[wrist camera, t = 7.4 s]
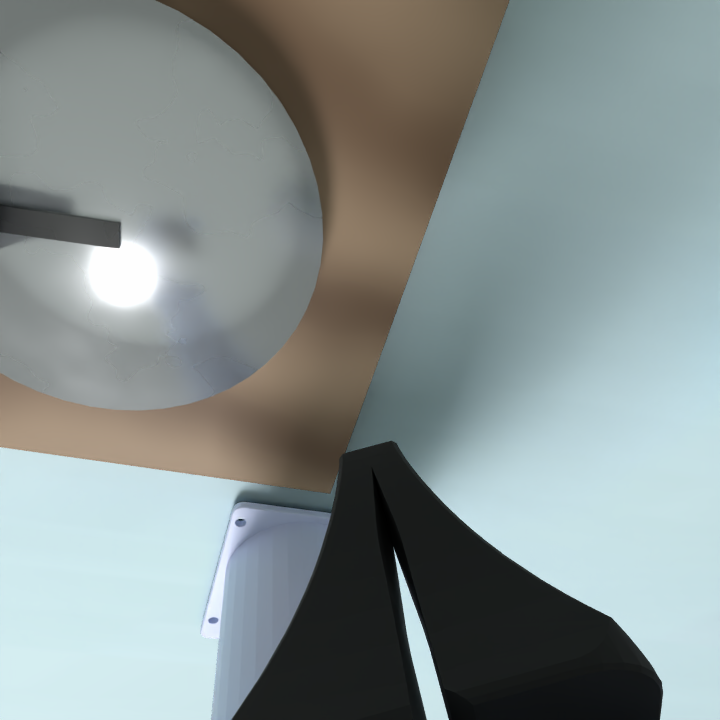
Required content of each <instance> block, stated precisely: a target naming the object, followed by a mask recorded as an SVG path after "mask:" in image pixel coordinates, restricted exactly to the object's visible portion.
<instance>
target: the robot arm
mask: <svg viewBox="0 0 720 720" xmlns="http://www.w3.org/2000/svg"><path fill="white" fill-rule="evenodd" d="M238 519H244V520H243V521H239V520H238ZM393 547H394V548H393ZM394 550H395V552H396V555H397V558H398V561H399V563H400V566H401V569H402V572H403V574H404V577H405V580H406V583H407V585H408V588H409V591H410V594H411V596H412V599H413V602H414V605H415V607H416V610H417V613H418V616H419V618H420V621H421V624H422V627H423V629H424V632H425V635H426V639H427V642H428V645H429V648H430V651H431V655H432V659H433V663H434V666H435V670H436V674H437V677H438V681H439V685H440V688H441V692H442V696H443V699H444V703H445V707H446V711H447V714H448V718H449V720H660V714H661V706H662V697H663V689H662V682H661V680H660V679H659V677H658V676H657V674H656V672H655V670H654V668H653V667H652V665H651V664H650V662H649V661H648V660H647V658H646V657H645V656H644V655H643V653H642V652H641V651H640V650H639V648H638V647H637V646H636V645H635V643H634V642H633V641H632V640H631V639H630V637H629V636H628V635H627V634H626V633H625V632H624V631H623V630H622V628H621V627H620V626H619V625H618V624H617V623H616V622H615V621H614V620H613V619H612V618H611V617H609V616H607V615H605V614H603V613H601V612H599V611H597V610H595V609H593V608H591V607H589V606H587V605H585V604H583V603H582V602H580V601H578V600H576V599H574V598H572V597H570V596H569V595H567V594H565V593H563V592H562V591H560V590H558V589H556V588H555V587H553V586H551V585H550V584H548V583H546V582H545V581H543V580H541V579H540V578H538V577H537V576H535V575H534V574H532V573H531V572H529V571H528V570H526V569H525V568H523V567H522V566H520V565H519V564H517V563H515V562H514V561H512V560H511V559H509V558H508V557H507V556H505V555H504V554H502V553H501V552H500V551H498V550H497V549H496V548H494V547H493V546H492V545H491V544H489V543H488V542H487V541H485V540H484V539H483V538H482V537H480V536H479V535H478V534H477V533H476V532H474V531H473V530H472V529H471V528H470V527H469V526H467V525H466V524H465V523H464V522H463V521H462V520H461V519H460V518H458V517H457V516H456V515H455V514H454V513H453V512H452V511H451V510H450V509H449V508H448V507H447V506H446V505H445V504H444V503H443V502H442V501H441V500H440V499H439V498H438V497H437V496H436V495H435V494H434V492H433V491H432V490H431V489H430V488H429V487H428V486H427V485H426V484H425V482H424V481H423V480H422V479H421V478H420V477H419V475H418V474H417V473H416V472H415V470H414V469H413V468H412V467H411V465H410V464H409V463H408V461H407V460H406V458H405V457H404V455H403V454H402V452H401V451H400V449H399V447H398V445H397V443H395V442H393V441H389V442H385V443H381V444H378V445H374V446H370V447H366V448H363V449H359V450H355V451H351V452H348V453H344V454H342V455H341V457H340V458H339V474H338V481H337V488H336V493H335V499H334V503H333V507H332V512H331V513H326V512H318V511H311V510H303V509H296V508H288V507H280V506H273V505H265V504H258V503H250V502H240V503H237V504H236V505H234V507H233V509H232V513H231V516H230V520H229V524H228V528H227V531H226V535H225V539H224V542H223V546H222V550H221V554H220V557H219V561H218V565H217V569H216V572H215V576H214V580H213V584H212V587H211V591H210V595H209V599H208V602H207V606H206V610H205V613H204V617H203V621H202V625H201V631H200V633H201V635H202V636H203V637H205V638H213V639H219V642H218V653H217V663H216V674H215V684H214V695H213V705H212V716H211V720H427V719H426V715H425V711H424V707H423V703H422V699H421V694H420V690H419V686H418V682H417V678H416V674H415V670H414V666H413V662H412V657H411V653H410V648H409V643H408V638H407V632H406V626H405V619H404V613H403V606H402V600H401V593H400V587H399V580H398V574H397V567H396V561H395V554H394Z"/></svg>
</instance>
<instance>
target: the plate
mask: <svg viewBox="0 0 720 720" xmlns="http://www.w3.org/2000/svg"><path fill="white" fill-rule="evenodd" d="M156 1H158V2H160V3H162V4H164V5H166V6H169V7H171V8H173V9H175V10H177V11H179V12H181V13H182V14H184V15H186V16H187V17H189V18H191V19H192V20H194V21H195V22H197V23H199V24H200V25H202V26H203V27H205V28H207V29H208V30H210V31H211V32H213V33H214V34H215V35H217V36H218V37H219V38H220V39H222V40H223V41H224V42H225V43H226V44H228V45H229V46H230V47H231V48H233V49H234V50H235V51H236V52H238V53H239V54H240V55H241V56H242V57H243V58H244V59H245V60H246V61H247V62H248V63H249V64H250V65H251V66H252V67H253V68H254V69H255V70H256V71H257V73H258V74H259V75H260V76H261V77H262V78H263V79H264V80H265V82H266V83H267V84H268V86H269V87H270V88H271V90H272V91H273V92H274V94H275V95H276V96H277V97H278V99H279V100H280V101H281V103H282V105H283V106H284V108H285V110H286V111H287V113H288V115H289V117H290V118H291V120H292V122H293V123H294V125H295V127H296V129H297V131H298V133H299V136H300V138H301V140H302V143H303V145H304V147H305V149H306V152H307V154H308V156H309V159H310V162H311V165H312V169H313V172H314V175H315V179H316V182H317V185H318V191H319V197H320V203H321V209H322V223H323V245H322V255H321V265H320V269H319V273H318V277H317V282H316V286H315V289H314V292H313V294H312V297H311V299H310V302H309V305H308V307H307V310H306V312H305V313H304V315H303V317H302V319H301V321H300V322H299V324H298V326H297V328H296V330H295V331H294V332H293V334H292V335H291V336H290V338H289V339H288V340H287V342H286V343H285V344H284V346H283V347H282V348H281V349H280V350H279V351H278V352H277V353H276V354H275V355H274V356H273V357H272V358H271V359H270V360H269V361H268V362H267V363H266V364H265V365H264V366H262V367H261V368H260V369H259V370H257V371H256V372H255V373H254V374H252V375H251V376H250V377H248V378H247V379H245V380H243V381H242V382H240V383H238V384H236V385H235V386H233V387H231V388H230V389H227V390H225V391H223V392H221V393H218V394H216V395H214V396H212V397H209V398H206V399H203V400H200V401H196V402H193V403H190V404H186V405H181V406H175V407H170V408H165V409H153V410H113V409H106V408H98V407H90V406H86V405H82V404H77V403H73V402H69V401H64V400H62V399H59V398H56V397H53V396H50V395H47V394H44V393H41V392H38V391H36V390H34V389H32V388H29V387H27V386H25V385H23V384H20V383H18V382H16V381H14V380H12V379H10V378H9V377H7V376H5V375H3V374H2V373H0V447H4V448H11V449H18V450H25V451H32V452H39V453H46V454H53V455H60V456H67V457H74V458H82V459H89V460H96V461H103V462H110V463H117V464H124V465H131V466H138V467H145V468H152V469H159V470H166V471H173V472H181V473H188V474H195V475H202V476H209V477H216V478H223V479H230V480H237V481H244V482H251V483H258V484H265V485H272V486H279V487H287V488H294V489H301V490H308V491H315V492H322V493H329V494H330V493H331V490H332V487H333V485H334V482H335V479H336V476H337V474H338V471H339V458H340V457H341V455H342V454H344V453H345V451H346V449H347V446H348V443H349V440H350V438H351V435H352V432H353V429H354V427H355V424H356V421H357V418H358V416H359V413H360V410H361V407H362V405H363V402H364V399H365V396H366V394H367V391H368V388H369V385H370V383H371V380H372V377H373V374H374V372H375V369H376V366H377V363H378V361H379V358H380V355H381V352H382V350H383V347H384V344H385V341H386V339H387V336H388V333H389V330H390V328H391V325H392V322H393V319H394V317H395V314H396V311H397V308H398V306H399V303H400V300H401V297H402V295H403V292H404V289H405V286H406V284H407V281H408V278H409V275H410V273H411V270H412V267H413V264H414V262H415V259H416V256H417V253H418V251H419V248H420V245H421V242H422V240H423V237H424V234H425V231H426V229H427V226H428V223H429V220H430V218H431V215H432V212H433V209H434V207H435V204H436V201H437V198H438V196H439V193H440V190H441V187H442V185H443V182H444V179H445V176H446V174H447V171H448V168H449V165H450V163H451V160H452V157H453V154H454V152H455V149H456V146H457V143H458V141H459V138H460V135H461V132H462V130H463V127H464V124H465V121H466V119H467V116H468V113H469V110H470V108H471V105H472V102H473V99H474V97H475V94H476V91H477V88H478V85H479V83H480V80H481V77H482V74H483V72H484V69H485V66H486V63H487V61H488V58H489V55H490V52H491V50H492V47H493V44H494V41H495V39H496V36H497V33H498V30H499V28H500V25H501V22H502V19H503V17H504V14H505V11H506V8H507V6H508V3H509V0H156Z"/></svg>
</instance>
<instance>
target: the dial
mask: <svg viewBox="0 0 720 720" xmlns="http://www.w3.org/2000/svg"><path fill="white" fill-rule="evenodd" d="M322 245H323V223H322V209H321V203H320V197H319V191H318V185H317V182H316V179H315V175H314V172H313V169H312V165H311V162H310V159H309V156H308V154H307V152H306V149H305V147H304V145H303V143H302V140H301V138H300V136H299V133H298V131H297V129H296V127H295V125H294V123H293V122H292V120H291V118H290V117H289V115H288V113H287V111H286V110H285V108H284V106H283V105H282V103H281V101H280V100H279V99H278V97H277V96H276V95H275V94H274V92H273V91H272V90H271V88H270V87H269V86H268V84H267V83H266V82H265V80H264V79H263V78H262V77H261V76H260V75H259V74H258V73H257V71H256V70H255V69H254V68H253V67H252V66H251V65H250V64H249V63H248V62H247V61H246V60H245V59H244V58H243V57H242V56H241V55H240V54H239V53H238V52H236V51H235V50H234V49H233V48H231V47H230V46H229V45H228V44H226V43H225V42H224V41H223V40H222V39H220V38H219V37H218V36H217V35H215V34H214V33H213V32H211V31H210V30H208V29H207V28H205V27H203V26H202V25H200V24H199V23H197V22H195V21H194V20H192V19H191V18H189V17H187V16H186V15H184V14H182V13H181V12H179V11H177V10H175V9H173V8H171V7H169V6H166V5H164V4H162V3H160V2H158V1H156V0H0V373H2V374H3V375H5V376H7V377H9V378H10V379H12V380H14V381H16V382H18V383H20V384H23V385H25V386H27V387H29V388H32V389H34V390H36V391H38V392H41V393H44V394H47V395H50V396H53V397H56V398H59V399H62V400H64V401H69V402H73V403H77V404H82V405H86V406H90V407H98V408H106V409H113V410H153V409H165V408H170V407H175V406H181V405H186V404H190V403H193V402H196V401H200V400H203V399H206V398H209V397H212V396H214V395H216V394H218V393H221V392H223V391H225V390H227V389H230V388H231V387H233V386H235V385H236V384H238V383H240V382H242V381H243V380H245V379H247V378H248V377H250V376H251V375H252V374H254V373H255V372H256V371H257V370H259V369H260V368H261V367H262V366H264V365H265V364H266V363H267V362H268V361H269V360H270V359H271V358H272V357H273V356H274V355H275V354H276V353H277V352H278V351H279V350H280V349H281V348H282V347H283V346H284V344H285V343H286V342H287V340H288V339H289V338H290V336H291V335H292V334H293V332H294V331H295V330H296V328H297V326H298V324H299V322H300V321H301V319H302V317H303V315H304V313H305V312H306V310H307V307H308V305H309V302H310V299H311V297H312V294H313V292H314V289H315V286H316V282H317V277H318V273H319V269H320V265H321V255H322Z"/></svg>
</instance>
